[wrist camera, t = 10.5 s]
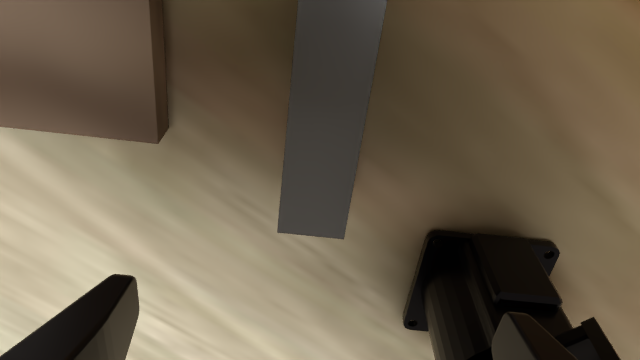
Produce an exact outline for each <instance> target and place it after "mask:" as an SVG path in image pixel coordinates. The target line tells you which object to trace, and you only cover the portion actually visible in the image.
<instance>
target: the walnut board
mask: <svg viewBox="0 0 640 360" xmlns="http://www.w3.org/2000/svg"><path fill="white" fill-rule="evenodd" d="M0 127H9V128H18V129H27V130H36V131H45V132H54V133H64V134H73V135H82V136H91V137H100V138H109V139H118V140H128V141H137V142H146V143H155V144H158V143H159V142H160V140H161V139H162V137H163V136H164V134H165V133H166V131H167V130H168V128H169V125H168V105H167V86H166V66H165V47H164V27H163V8H162V0H0Z"/></svg>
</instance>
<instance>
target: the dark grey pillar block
mask: <svg viewBox="0 0 640 360" xmlns="http://www.w3.org/2000/svg"><path fill="white" fill-rule="evenodd" d="M386 4H387V0H298V9H297V20H296V31H295V42H294V53H293V64H292V75H291V86H290V97H289V108H288V120H287V131H286V142H285V153H284V164H283V175H282V186H281V197H280V208H279V219H278V231H277V232H278V233H288V234H297V235H307V236H317V237H327V238H337V239H344V235H345V230H346V224H347V219H348V213H349V208H350V202H351V197H352V191H353V186H354V180H355V175H356V169H357V164H358V158H359V153H360V147H361V142H362V136H363V131H364V125H365V120H366V114H367V109H368V103H369V98H370V92H371V87H372V81H373V76H374V70H375V65H376V59H377V54H378V48H379V43H380V37H381V32H382V26H383V21H384V15H385V10H386Z"/></svg>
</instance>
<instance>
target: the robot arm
mask: <svg viewBox="0 0 640 360" xmlns="http://www.w3.org/2000/svg"><path fill="white" fill-rule="evenodd" d="M437 239H440V241H439V242H433V241H435V240H437ZM547 251H550V252H549V253H546V254H545V252H547ZM559 254H560V252H559V250H558V248H557V246H556V245H555V244H554V243H552V242H548V241H538V240H528V239H525V238H516V237H507V236H497V235H487V234H470V233H461V232H451V231H441V230H434V231H432V232H430V233H429V234H428V235H427V236H426V239H425V242H424V246H423V249H422V253H421V256H420V259H419V263H418V266H417V270H416V273H415V276H414V280H413V283H412V287H411V290H410V294H409V297H408V300H407V304H406V307H405V311H404V314H403V324H404V326H405V328H407V329H410V330H419V331H429V334H430V339H431V343H432V347H433V352H434V356H435V360H621V359H620V357H619V356H618V354H617V353H616V351H615V349H614V348H613V346H612V345H611V343H610V342H609V340H608V338H607V337H606V335H605V334H604V332H603V331H602V329H601V327H600V326H599V324H598V323H597V321H596V320H595V318H594V317H593V318H590V319H588V320H586V321H583V322H581V325H580V326H578V327H576V328H573V327H572V325H571V323H570V322H569V320H568V318H567V316H566V315H565V313H564V311H563V309H562V307H561V305H562V303H563V302H562V299H561V297H560V296H559V294H558V292H557V290H556V289H555V287H554V285H553V283H552V282H551V280H550V278H549V276H550V274H551V271H552V269H553V267H554V265H555V263H556V261H557V259H558V257H559ZM138 315H139V299H138V290H137V282H136V279H135V277H134V276H131V275H120V274H113V275H111V276H109V277H108V278H106V279H105V280H104V281H102V282H101V283H100V284H98V285H97V286H95V287H94V288H93V289H91V290H90V291H89V292H87V293H86V294H85V295H83V296H82V297H80V298H79V299H78V300H76V301H75V302H74V303H72V304H71V305H70V306H68V307H67V308H65V309H64V310H63V311H61V312H60V313H59V314H57V315H56V316H55V317H53V318H52V319H51V320H49V321H48V322H46V323H45V324H44V325H42V326H41V327H40V328H38V329H37V330H36V331H34V332H33V333H31V334H30V335H29V336H27V337H26V338H25V339H23V340H22V341H21V342H19V343H18V344H16V345H15V346H14V347H12V348H11V349H10V350H8V351H7V352H6V353H4V354H3V355H1V356H0V360H125V359H126V355H127V352H128V349H129V346H130V342H131V339H132V336H133V333H134V329H135V326H136V323H137V319H138ZM411 320H414V321H411Z"/></svg>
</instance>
